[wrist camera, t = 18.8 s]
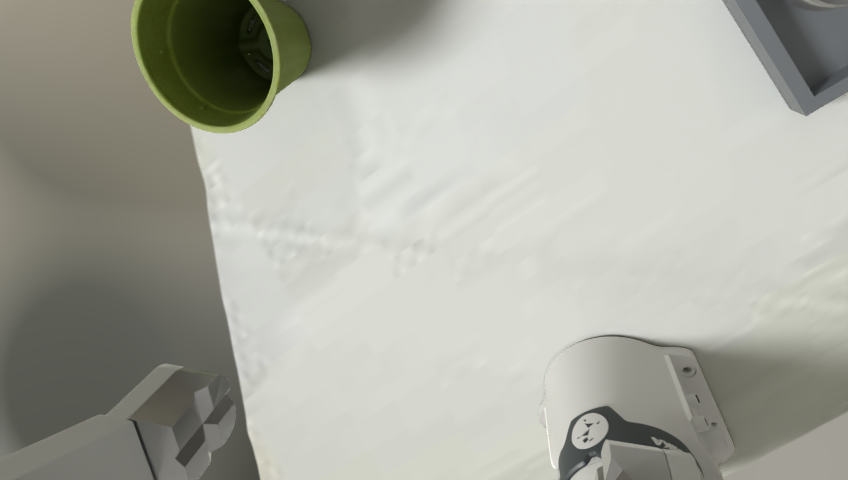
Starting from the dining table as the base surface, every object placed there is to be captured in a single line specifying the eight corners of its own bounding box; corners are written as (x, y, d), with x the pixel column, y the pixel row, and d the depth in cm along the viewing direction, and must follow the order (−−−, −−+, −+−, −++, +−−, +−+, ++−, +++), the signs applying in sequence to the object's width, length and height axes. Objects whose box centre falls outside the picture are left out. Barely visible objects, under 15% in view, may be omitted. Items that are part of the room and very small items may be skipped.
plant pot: (334, 116, 47) (278, 147, 37) (223, 93, 48) (141, 117, 38) (341, -20, 41) (278, -27, 31) (216, -41, 43) (118, -54, 33)
